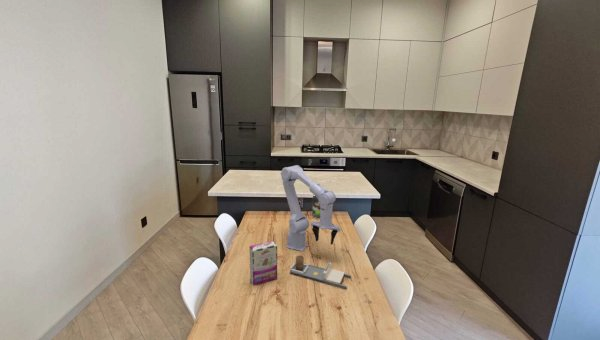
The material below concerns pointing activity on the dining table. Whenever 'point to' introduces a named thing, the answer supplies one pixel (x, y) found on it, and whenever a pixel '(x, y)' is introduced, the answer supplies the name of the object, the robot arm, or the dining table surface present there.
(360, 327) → the dining table surface
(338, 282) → the cover
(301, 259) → the peg
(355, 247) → the dining table surface
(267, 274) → the candy bar box
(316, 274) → the board
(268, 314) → the dining table surface
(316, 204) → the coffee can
